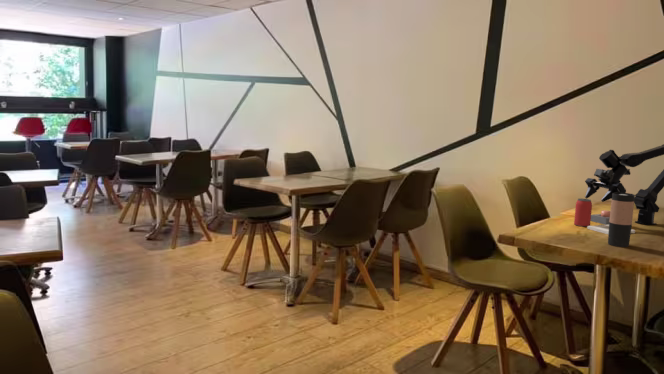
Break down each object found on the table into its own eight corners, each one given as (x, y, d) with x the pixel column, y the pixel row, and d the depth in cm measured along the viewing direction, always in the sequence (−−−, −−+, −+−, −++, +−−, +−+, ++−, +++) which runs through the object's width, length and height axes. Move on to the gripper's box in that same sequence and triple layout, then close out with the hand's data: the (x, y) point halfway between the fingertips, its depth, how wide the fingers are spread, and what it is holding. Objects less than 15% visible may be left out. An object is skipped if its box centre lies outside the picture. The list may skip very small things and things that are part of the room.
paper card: (611, 226, 229) (611, 224, 229) (634, 232, 218) (635, 230, 217) (587, 228, 224) (587, 225, 224) (609, 234, 213) (610, 232, 213)
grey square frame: (604, 219, 245) (605, 213, 244) (620, 223, 236) (621, 217, 236) (590, 220, 242) (590, 214, 242) (605, 224, 234) (606, 218, 233)
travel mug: (602, 242, 200) (607, 192, 197) (621, 242, 201) (626, 192, 198) (615, 247, 192) (620, 195, 190) (634, 247, 193) (639, 195, 190)
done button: (605, 217, 242) (606, 210, 241) (612, 219, 238) (613, 211, 237) (598, 218, 240) (599, 210, 240) (605, 219, 236) (606, 212, 236)
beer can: (591, 227, 227) (594, 201, 225) (576, 226, 228) (578, 200, 227) (587, 224, 233) (590, 198, 232) (572, 223, 235) (574, 198, 233)
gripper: (590, 161, 239) (569, 184, 237) (624, 165, 222) (602, 190, 220) (601, 177, 243) (581, 200, 241) (635, 182, 225) (614, 207, 223)
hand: (593, 199), depth 231 cm, fingers open, 9 cm apart
